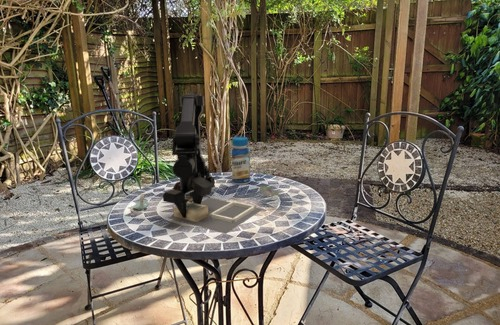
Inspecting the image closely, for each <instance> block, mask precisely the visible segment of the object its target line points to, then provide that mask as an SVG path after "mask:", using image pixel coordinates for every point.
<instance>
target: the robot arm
mask: <svg viewBox="0 0 500 325" xmlns="http://www.w3.org/2000/svg"><path fill="white" fill-rule="evenodd" d="M179 103H180V104H179V106H180V107H181V109H182V110H181V118H180V124H179V125H178V126H176V128H175V131H174V132H175V133H174V134H173V135H172V156H177V159H176V161H175V162H174V163H173V166H172V171H173V174H174V175H175V176H176V177H178V178H179V181H180V184H179V185H178V188H180V189H181V190H180V191H178V190H173V188H172V189H169V190H167V191H165V192H164V193H163V194H162V200H163V202H165V203H166V202H167V203H170V204H174V206H175V205H176V207H177V208H178V210H179V211H180V213H181V215H182V216H183V218H186V203H187V202H188V201H189V200H190V199H189V198H186V195H187V196H192V198H191V199H193V203H197V204H201V201H203V199H204V197H205V196H206V195H209V194H210V193H211V192H212V189H213V188H215V185H216V184H215V183H216V181H215V177H213V176H212V175H211V174H210V169H209V168H208V165H206V164H207V163H206V160H205V159H204V157H203V155H202V148H201V145H202V144H201V127H200V117H201V115H202V113H203V111H204V107H205V96H204V95H202V94H201V93H184V94H183V95H180V96H179Z"/></svg>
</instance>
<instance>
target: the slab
mask: <svg viewBox="0 0 500 325" xmlns="http://www.w3.org/2000/svg"><path fill="white" fill-rule="evenodd" d="M172 209H173V210H172V211H173V215H174V216H175V217H179V218H183V216H182V215H181V213H180V211H179V210H178V208H177V207H176V205H175V204H174V205H173V207H172ZM207 216H208V206H206V205H201V204H197V203H193V202H187V203H186V218H183V219H186V220H190V221H194V222H198V221H200V220H202V219H204V218H205V217H207Z"/></svg>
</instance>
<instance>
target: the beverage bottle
mask: <svg viewBox="0 0 500 325" xmlns="http://www.w3.org/2000/svg"><path fill="white" fill-rule="evenodd" d="M231 141H232V143H231V144H232V150H231V151H230V155H231V158H230V162H231V183H233V184H235V185H238V186H239V185H240V186H242V185H243V186H244V185H247V184H249V183H251V167H250V166H251V164H250V162H251V157H250V154H251V152H250V149H249V148H248V146H249V139H248V137H246V136H234V137H232V139H231Z"/></svg>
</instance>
